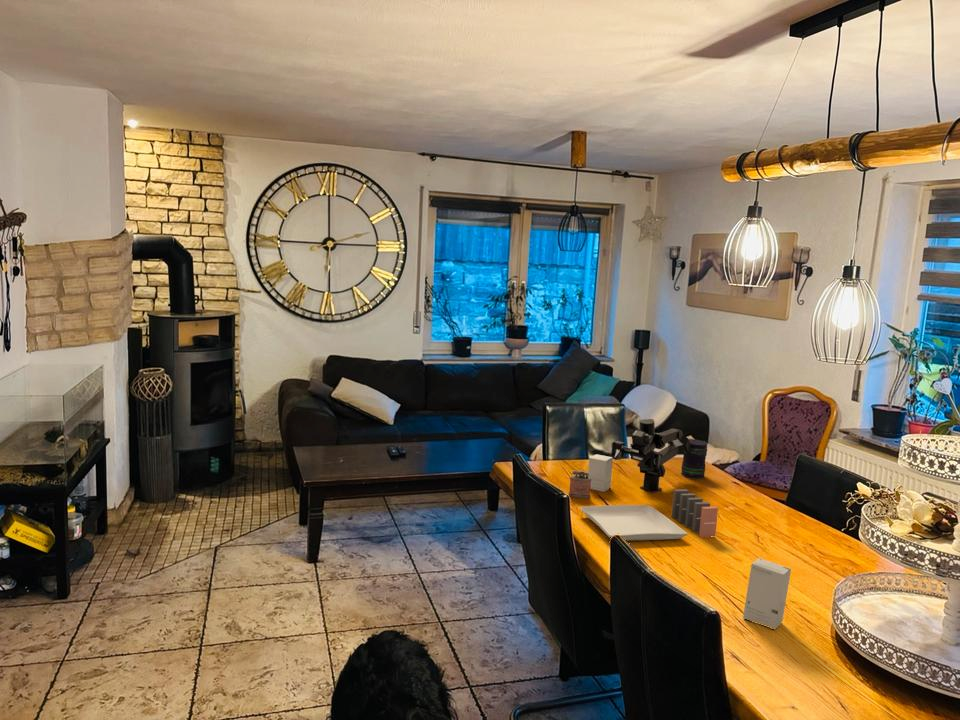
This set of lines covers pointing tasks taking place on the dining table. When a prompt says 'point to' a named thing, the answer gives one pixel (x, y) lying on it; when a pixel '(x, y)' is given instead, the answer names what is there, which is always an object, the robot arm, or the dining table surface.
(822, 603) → the dining table surface
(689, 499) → the domino
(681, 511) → the domino
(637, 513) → the square plate
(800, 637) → the dining table surface
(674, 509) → the domino
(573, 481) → the lighter
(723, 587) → the dining table surface
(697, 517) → the domino
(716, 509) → the domino
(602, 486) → the supplement box
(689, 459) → the storage jar
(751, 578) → the skincare box
